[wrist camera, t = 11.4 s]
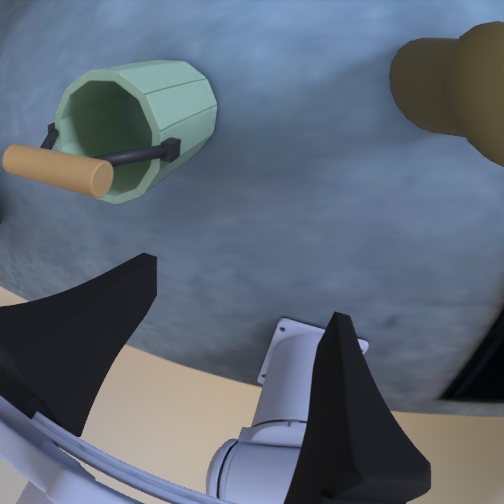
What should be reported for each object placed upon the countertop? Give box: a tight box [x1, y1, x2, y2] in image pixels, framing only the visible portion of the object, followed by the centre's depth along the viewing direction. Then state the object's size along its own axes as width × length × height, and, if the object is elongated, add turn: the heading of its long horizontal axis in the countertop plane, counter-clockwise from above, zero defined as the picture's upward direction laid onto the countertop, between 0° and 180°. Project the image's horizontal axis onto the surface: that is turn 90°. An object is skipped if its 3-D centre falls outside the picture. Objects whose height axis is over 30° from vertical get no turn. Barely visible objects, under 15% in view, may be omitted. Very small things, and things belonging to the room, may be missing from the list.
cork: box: [390, 21, 504, 167], centre depth 10 cm, size 6×6×11 cm
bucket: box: [2, 60, 218, 204], centre depth 15 cm, size 7×8×11 cm
